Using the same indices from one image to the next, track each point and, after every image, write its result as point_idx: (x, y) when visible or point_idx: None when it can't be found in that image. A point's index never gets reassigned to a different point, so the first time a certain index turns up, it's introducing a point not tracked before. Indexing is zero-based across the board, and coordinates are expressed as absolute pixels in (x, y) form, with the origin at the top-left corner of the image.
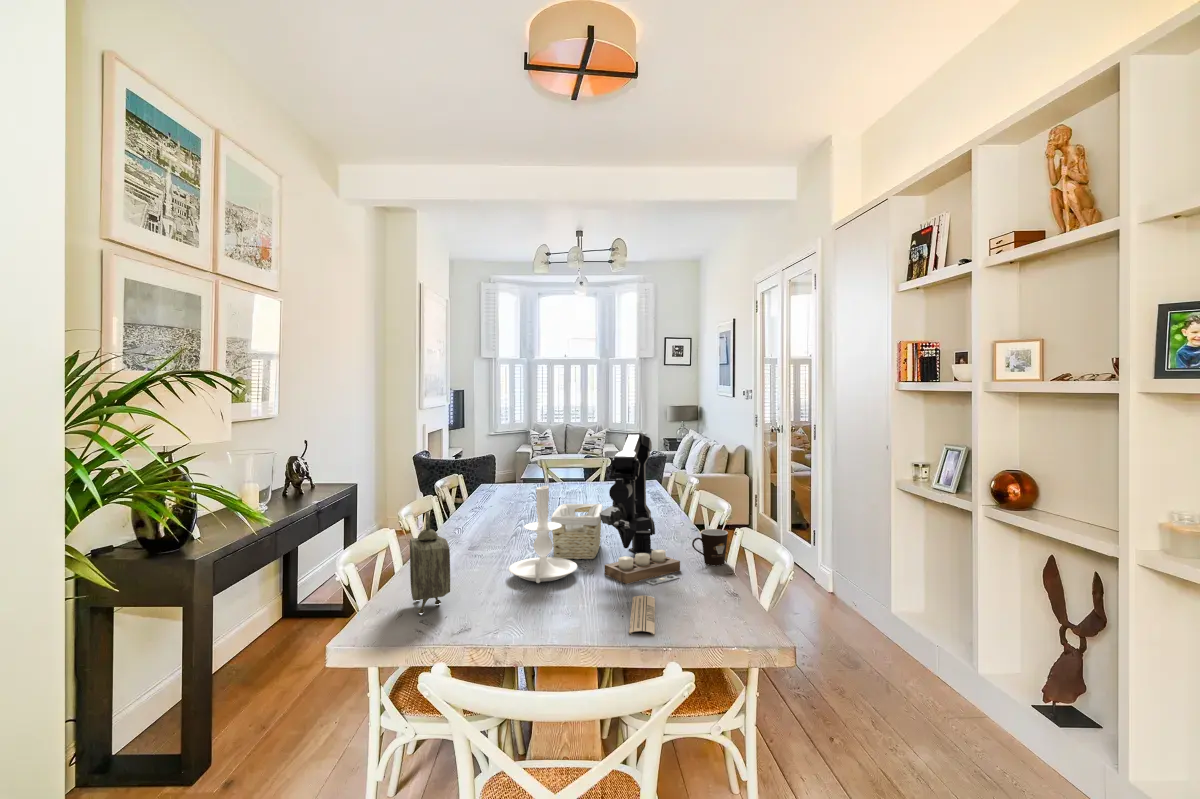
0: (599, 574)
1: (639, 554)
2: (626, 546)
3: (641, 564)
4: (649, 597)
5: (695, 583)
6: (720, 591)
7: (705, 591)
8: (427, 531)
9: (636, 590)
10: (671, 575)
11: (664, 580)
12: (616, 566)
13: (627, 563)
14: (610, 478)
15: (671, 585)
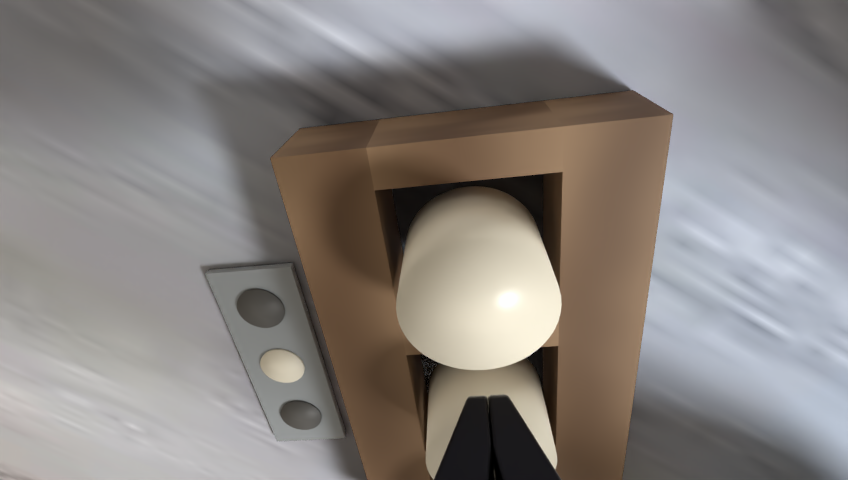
0: (674, 48)
1: None
2: (461, 428)
3: (443, 378)
4: None
5: (174, 449)
6: (31, 464)
7: (39, 422)
8: None
9: (128, 115)
10: (326, 431)
11: (254, 363)
12: (560, 205)
13: (403, 269)
14: None
15: (175, 352)
